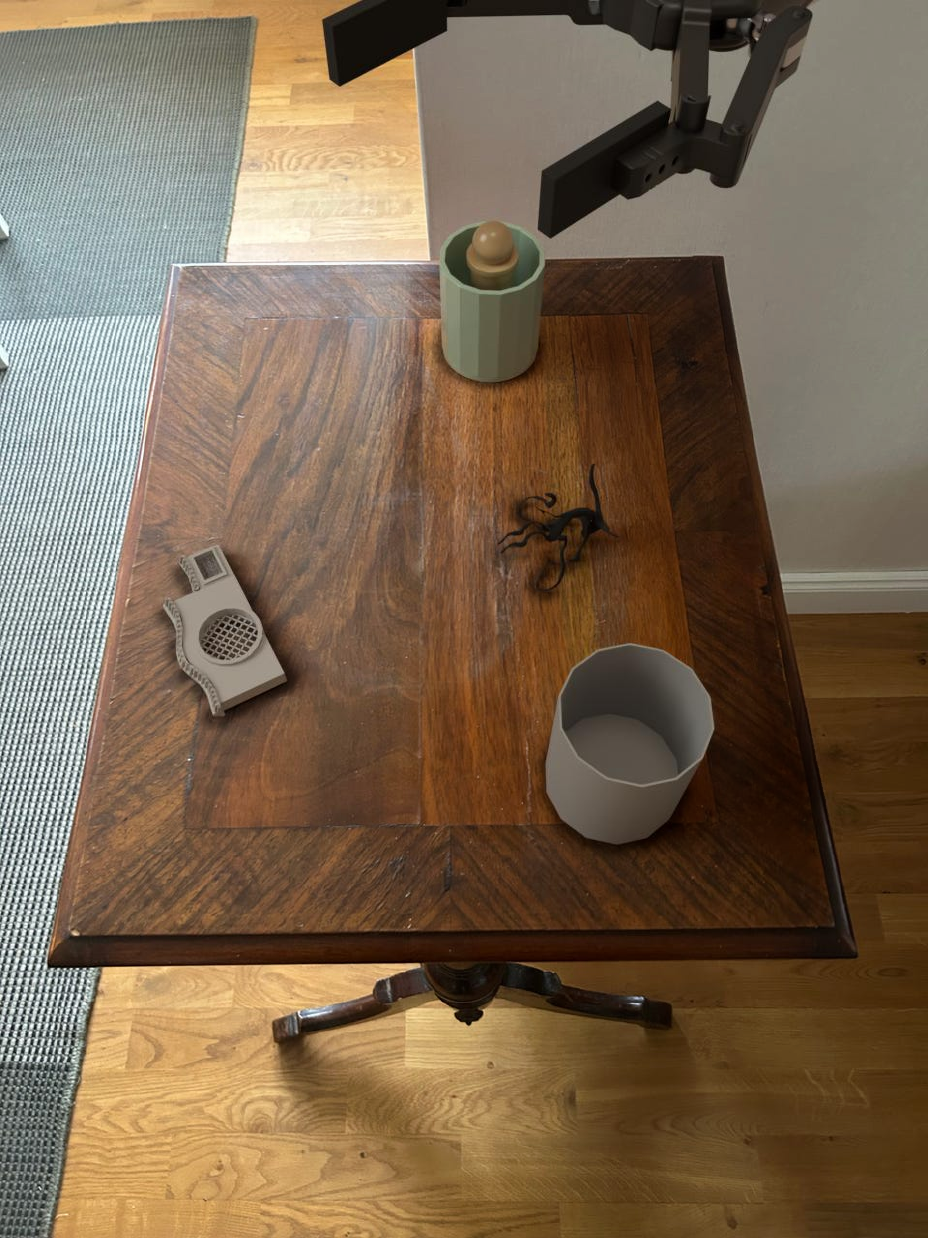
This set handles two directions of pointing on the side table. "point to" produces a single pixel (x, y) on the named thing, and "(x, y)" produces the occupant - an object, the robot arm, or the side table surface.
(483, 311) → the tumbler
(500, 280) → the game piece
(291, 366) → the side table surface
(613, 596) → the side table surface
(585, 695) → the cup
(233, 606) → the lattice window wall
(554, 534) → the creature
